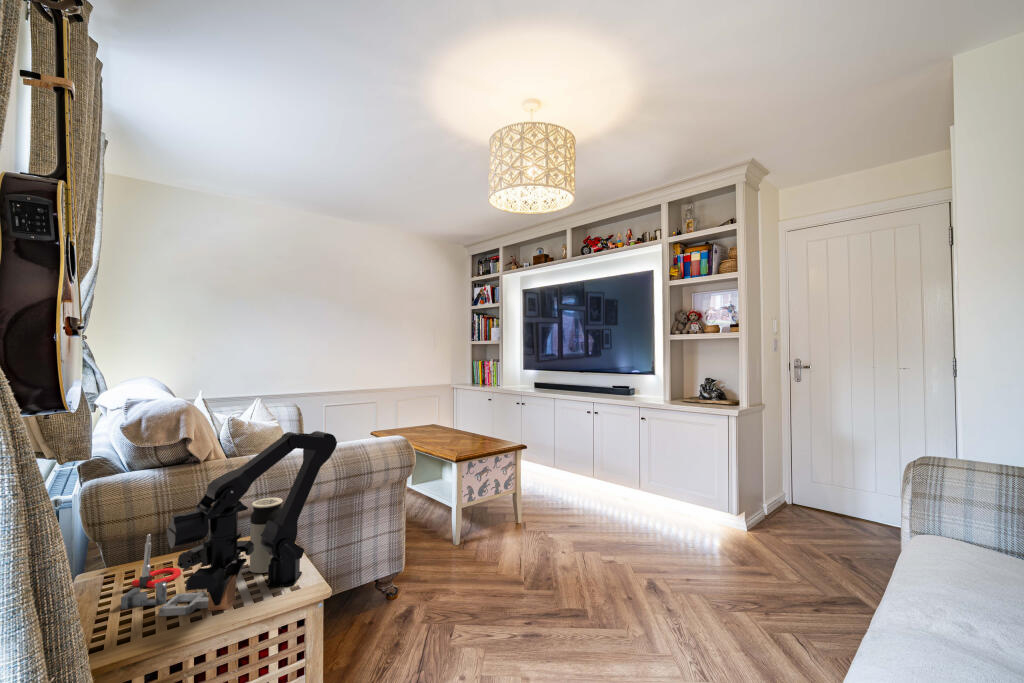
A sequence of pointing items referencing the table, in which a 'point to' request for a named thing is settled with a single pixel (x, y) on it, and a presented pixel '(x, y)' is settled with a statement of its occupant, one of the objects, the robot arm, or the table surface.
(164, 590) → the hook
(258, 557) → the travel mug
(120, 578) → the table surface
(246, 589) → the table surface
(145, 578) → the tow hook
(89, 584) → the table surface
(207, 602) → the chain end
